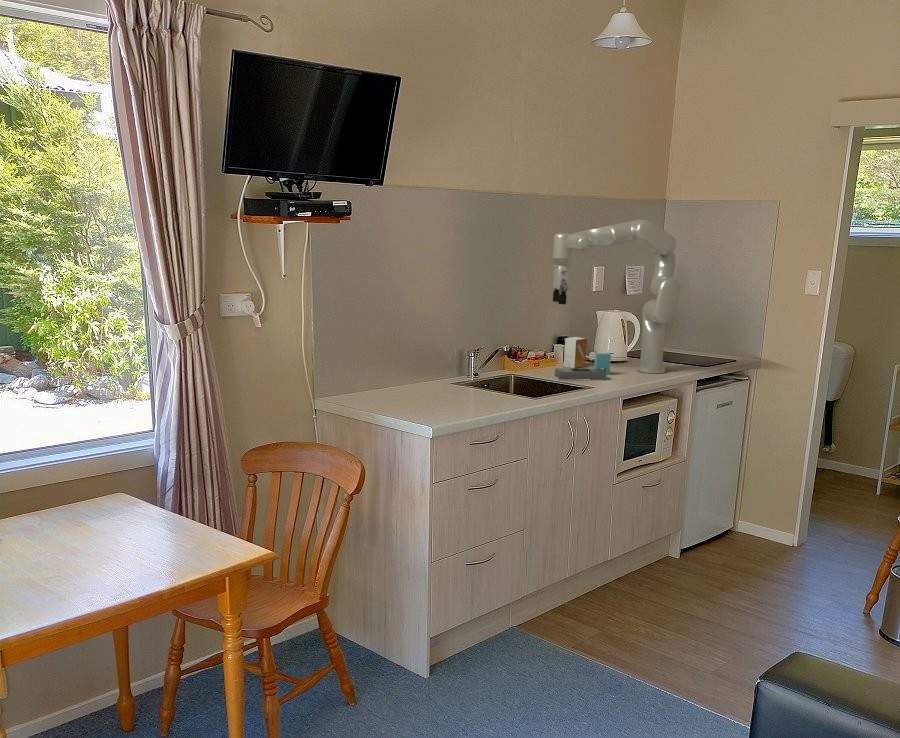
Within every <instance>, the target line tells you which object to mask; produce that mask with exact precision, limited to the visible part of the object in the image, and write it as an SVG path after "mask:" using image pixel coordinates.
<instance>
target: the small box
mask: <svg viewBox="0 0 900 738" xmlns="http://www.w3.org/2000/svg"><path fill="white" fill-rule="evenodd" d="M587 341H588V338H586V337H580V336H573V337H572V336H571V337H566V338H564V354H563V367H566V368H574V369H580V368H584V367H586V355H587V345H588V344H587V343H588V342H587Z"/></svg>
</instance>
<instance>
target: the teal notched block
mask: <svg viewBox="0 0 900 738" xmlns="http://www.w3.org/2000/svg"><path fill="white" fill-rule="evenodd" d="M611 357H612V354H611V353H609V352H607V353H606V352H605V353H604V352H603V353H602V352H601V353H600V352H599V353H598V352H595V353H594V364H593V365H594V367H593V369H603V370H604V371H606V376H610V373H611V372H610V371H611V360H612V358H611Z"/></svg>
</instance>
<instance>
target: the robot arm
mask: <svg viewBox="0 0 900 738" xmlns="http://www.w3.org/2000/svg"><path fill="white" fill-rule="evenodd" d="M634 241H635V242H636V241H643V242H644V243H645V244H647V246H648V247H647V248H648V250H649V251H650V252H652V254H653V255H654V257H655V258H654V259H655V266H654V270H653V271H654V272H653V275H652V280H651V283H650V292H651V293H652V295H654V296H655V297H656V299H649V300H648V301H646V302H645V303H644V305H643V306H642V311H641V314H642V315H641V316H642V335H641V351H640V363H639V365H637V367H636V371H637V372H639V373H645V374H664V373H666V368H673V367H674V363H673V362H666V361H664V359H663V358H664V348H665V347H664V346H665V337H666V336H665V335H666V327H665V325H667V324H669V323H670V322H672V321H673V319H674V318H675V317H674V316H675V314H676V311H677V308H678V307H677V306H678V304H679V299H680V295H681V285H680V283H679V280H677V279H676V278H675V271H676V267H677V266H676V265H677V259H676V254H675V250H676V247H677V241H676V238H675V237H674V236H673V235H672V234H670V233H669V232H667V231H666V230H664V229H663V228H661V227H659V226H658V225H656V224H655V223H654V222H652V221H650V220H647V219H634V220H629V221H625V222H619V223H616V224H611V225H607V226H606V225H605V226H602V227H598V228H593V229H586V230H583V231H578V232H574V233H572V234H571V233H565V232H564V233H562V232H561V233H560V232H559V233H555V234H554V236H553V250H552V266H553V268H554V269H553V277H552V278H553V279H552V288H553V291H552V302H554V303H555V302H556V303H557V302H558V304H559V305H566V304H567V294H568V293H567V291H568V290H569V289H570V267H571V258H572V257H571V255H572V251H576V252H585V251H587V250H589V249H590V248H594V247H601V246H602V247H609V246H617V245H621V244H625V243H631V242H634Z"/></svg>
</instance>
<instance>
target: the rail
mask: <svg viewBox="0 0 900 738" xmlns="http://www.w3.org/2000/svg"><path fill="white" fill-rule="evenodd" d="M555 376H556V377H558V378H559V379H590V380H589V381H607V375H606V371H604V368H600V369H594V368H569V367H566V368H558V367H556V368H554V377H555ZM556 377H555V378H556Z"/></svg>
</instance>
